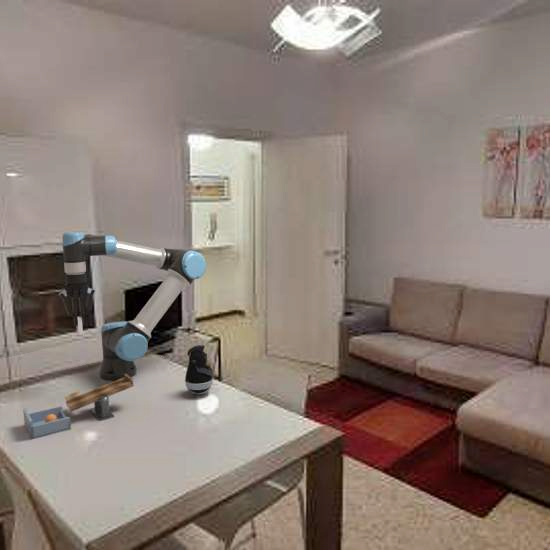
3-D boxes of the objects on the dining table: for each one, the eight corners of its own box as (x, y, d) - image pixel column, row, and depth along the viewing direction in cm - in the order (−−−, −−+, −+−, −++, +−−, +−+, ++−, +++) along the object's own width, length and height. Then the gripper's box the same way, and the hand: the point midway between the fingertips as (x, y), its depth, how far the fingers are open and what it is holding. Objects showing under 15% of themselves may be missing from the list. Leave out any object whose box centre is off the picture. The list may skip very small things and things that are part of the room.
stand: (104, 406, 182) (102, 385, 181) (114, 417, 173) (112, 395, 172) (90, 410, 179) (88, 389, 178) (99, 420, 170) (98, 398, 169)
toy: (211, 399, 187) (209, 348, 184) (183, 399, 188) (180, 348, 185) (215, 388, 198) (213, 340, 195) (188, 388, 198) (186, 340, 195)
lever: (121, 376, 189) (119, 368, 188) (133, 386, 179) (131, 378, 178) (62, 399, 177) (60, 391, 176) (71, 411, 167) (69, 403, 166)
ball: (44, 413, 166) (43, 423, 167) (46, 416, 164) (45, 427, 164) (55, 412, 169) (54, 422, 169) (58, 415, 166) (57, 426, 166)
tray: (62, 416, 174) (61, 400, 173) (70, 429, 164) (69, 411, 163) (24, 425, 167) (23, 409, 166) (31, 439, 157) (29, 421, 157)
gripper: (90, 270, 194) (94, 328, 198) (55, 273, 187) (59, 334, 190) (96, 272, 188) (100, 332, 192) (59, 275, 181) (64, 338, 184)
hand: (80, 333), depth 191 cm, fingers closed
